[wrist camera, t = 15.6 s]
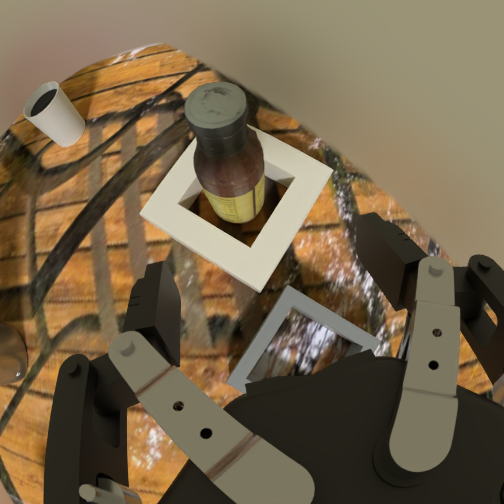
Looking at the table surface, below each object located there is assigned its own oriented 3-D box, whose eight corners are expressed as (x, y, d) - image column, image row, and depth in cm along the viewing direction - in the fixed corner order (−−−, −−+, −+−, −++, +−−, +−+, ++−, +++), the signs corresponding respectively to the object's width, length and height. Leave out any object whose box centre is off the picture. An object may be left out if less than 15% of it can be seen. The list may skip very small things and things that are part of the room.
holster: (229, 374, 33) (225, 382, 29) (284, 287, 34) (287, 284, 30) (314, 421, 31) (321, 433, 27) (367, 337, 33) (380, 340, 29)
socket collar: (150, 223, 36) (139, 213, 32) (221, 127, 38) (217, 110, 34) (260, 293, 34) (260, 291, 30) (326, 183, 37) (333, 169, 33)
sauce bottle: (241, 170, 37) (231, 52, 18) (274, 205, 36) (293, 100, 17) (200, 201, 36) (152, 99, 17) (232, 239, 35) (207, 158, 16)
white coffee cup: (93, 114, 40) (66, 78, 30) (78, 149, 38) (44, 116, 29) (65, 116, 40) (36, 84, 30) (50, 149, 39) (16, 120, 29)
